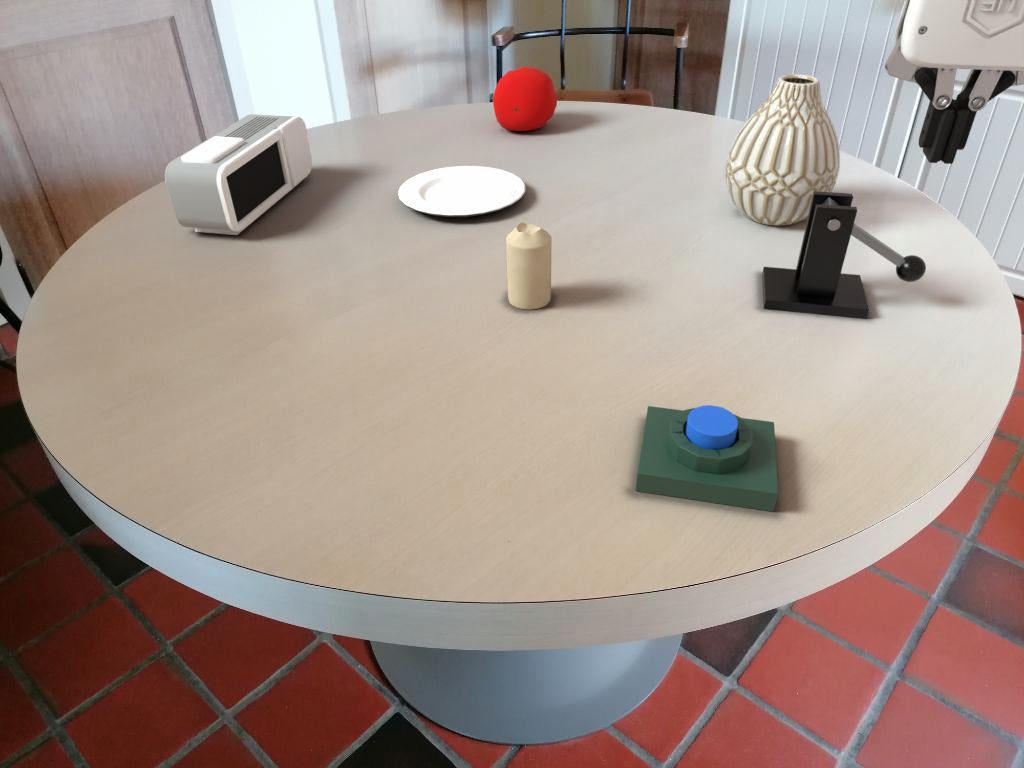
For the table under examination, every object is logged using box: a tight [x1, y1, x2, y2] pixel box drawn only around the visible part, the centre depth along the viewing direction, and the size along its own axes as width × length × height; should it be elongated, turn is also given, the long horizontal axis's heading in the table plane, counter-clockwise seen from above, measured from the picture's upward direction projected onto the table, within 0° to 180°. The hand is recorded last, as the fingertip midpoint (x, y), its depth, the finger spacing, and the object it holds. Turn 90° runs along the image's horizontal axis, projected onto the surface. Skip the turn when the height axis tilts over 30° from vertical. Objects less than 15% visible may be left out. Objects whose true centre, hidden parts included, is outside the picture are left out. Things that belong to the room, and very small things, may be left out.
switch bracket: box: [761, 191, 870, 320], centre depth 92 cm, size 12×9×13 cm
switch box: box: [635, 405, 779, 512], centre depth 69 cm, size 12×10×4 cm
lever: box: [822, 197, 927, 283], centre depth 90 cm, size 15×3×3 cm, turn 76°
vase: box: [725, 73, 841, 227], centre depth 110 cm, size 16×16×20 cm
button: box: [686, 404, 738, 450], centre depth 68 cm, size 4×4×2 cm
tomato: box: [492, 66, 558, 132], centre depth 150 cm, size 13×13×13 cm
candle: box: [505, 222, 553, 310], centre depth 93 cm, size 6×6×10 cm
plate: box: [397, 165, 526, 218], centre depth 123 cm, size 21×21×2 cm
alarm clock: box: [164, 113, 313, 236], centre depth 120 cm, size 27×9×12 cm, turn 167°
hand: (936, 157), depth 59 cm, fingers closed
